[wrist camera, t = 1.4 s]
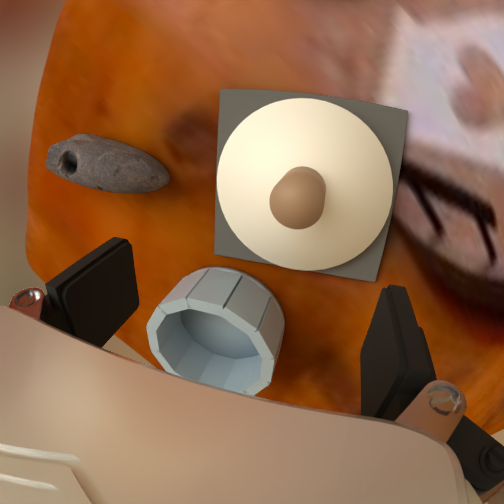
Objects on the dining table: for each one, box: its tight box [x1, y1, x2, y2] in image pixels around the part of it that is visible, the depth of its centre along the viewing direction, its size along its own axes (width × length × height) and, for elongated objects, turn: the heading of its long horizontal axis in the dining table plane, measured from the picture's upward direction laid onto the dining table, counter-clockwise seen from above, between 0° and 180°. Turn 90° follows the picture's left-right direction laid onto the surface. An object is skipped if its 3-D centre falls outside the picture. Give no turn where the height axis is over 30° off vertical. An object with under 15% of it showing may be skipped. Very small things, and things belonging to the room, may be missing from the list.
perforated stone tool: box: [45, 133, 170, 193], centre depth 28 cm, size 15×5×7 cm, turn 72°
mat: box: [215, 89, 408, 282], centre depth 27 cm, size 17×17×1 cm
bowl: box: [147, 266, 285, 396], centre depth 33 cm, size 14×14×7 cm
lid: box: [217, 98, 393, 270], centre depth 25 cm, size 16×16×6 cm
